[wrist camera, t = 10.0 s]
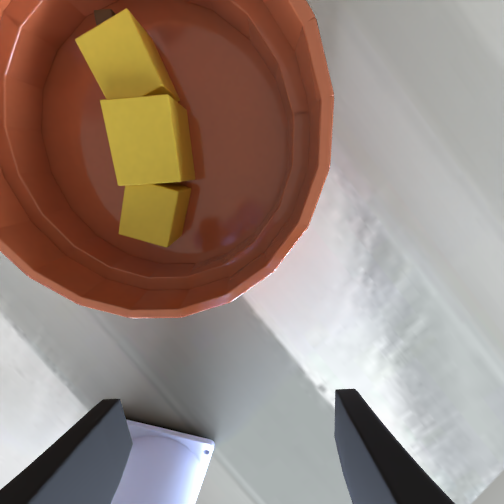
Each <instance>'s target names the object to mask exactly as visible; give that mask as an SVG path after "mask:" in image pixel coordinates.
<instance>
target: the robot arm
mask: <svg viewBox="0 0 504 504" xmlns="http://www.w3.org/2000/svg"><path fill="white" fill-rule="evenodd" d="M335 441H336V445H337V450H338V454H339V458H340V463H341V467H342V471H343V475H344V478H345V481H346V484H347V487H348V491H349V494H350V497H351V500H352V503H353V504H455V503H454V502H453V501H452V500H451V499H450V498H449V497H448V496H447V495H446V494H445V493H444V492H443V491H442V490H441V489H440V487H439V486H438V485H437V484H436V483H435V482H434V481H433V480H432V479H431V478H430V477H429V476H428V475H427V474H426V472H425V471H424V470H423V469H422V468H421V467H420V466H419V465H418V464H417V463H416V461H415V460H414V459H413V458H412V457H411V456H410V455H409V453H408V452H407V451H406V450H405V449H404V448H403V447H402V445H401V444H400V443H399V442H398V441H397V440H396V439H395V437H394V436H393V435H392V434H391V433H390V431H389V430H388V429H387V428H386V427H385V425H384V424H383V423H382V422H381V421H380V419H379V418H378V417H377V416H376V414H375V413H374V412H373V411H372V409H371V408H370V407H369V406H368V404H367V403H366V402H365V400H364V399H363V398H362V397H361V395H360V394H359V393H358V391H356V390H355V389H339V390H336V391H335ZM213 449H214V442H213V441H212V440H211V439H207V438H203V437H198V436H194V435H190V434H186V433H181V432H177V431H173V430H169V429H165V428H160V427H156V426H152V425H148V424H144V423H139V422H135V421H131V420H127V419H126V418H125V414H124V411H123V407H122V404H121V400H120V399H106V400H102V401H101V402H99V403H98V404H97V405H96V406H95V407H94V408H92V409H91V410H90V411H89V412H88V413H87V414H86V415H85V416H84V417H82V418H81V419H80V420H79V421H78V422H77V423H76V424H75V425H74V426H72V427H71V428H70V429H69V430H68V431H67V432H66V433H65V434H64V435H63V436H61V437H60V438H59V439H58V440H57V441H56V442H55V443H54V444H53V445H51V446H50V447H49V448H48V449H47V450H46V451H45V452H44V453H42V454H41V455H40V456H39V457H38V458H37V459H36V460H35V461H34V462H32V463H31V464H30V465H29V466H28V467H27V468H26V469H24V470H23V471H22V472H21V473H20V474H19V475H17V476H16V477H15V478H14V479H13V480H12V481H10V482H9V483H8V484H7V485H6V486H4V487H3V488H2V489H1V490H0V504H195V502H196V499H197V496H198V493H199V490H200V487H201V484H202V482H203V479H204V476H205V473H206V470H207V467H208V464H209V461H210V458H211V455H212V452H213Z"/></svg>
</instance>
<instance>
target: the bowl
mask: <svg viewBox="0 0 504 504" xmlns="http://www.w3.org/2000/svg"><path fill="white" fill-rule="evenodd" d="M125 8H127V9H128V10H129V11H130V12H131V14H132V15H133V16H134V17H135V19H136V20H137V21H138V22H139V24H140V25H141V26H142V27H143V29H144V30H145V31H146V32H147V34H148V35H149V36H150V37H151V38H152V40H153V42H154V44H155V47H156V49H157V51H158V53H159V55H160V57H161V60H162V62H163V64H164V66H165V68H166V70H167V73H168V75H169V77H170V79H171V81H172V83H173V86H174V88H175V90H176V92H177V94H178V96H179V99H180V100H179V101H178V103H179V104H180V105H181V106H183V107H184V108H185V109H186V110H187V116H188V124H189V132H190V140H191V147H192V155H193V163H194V171H195V180H190V181H183V182H173V183H176V184H179V185H183V186H186V187H189V188H191V194H190V199H189V203H188V208H187V213H186V217H185V222H184V226H183V231H182V236H181V237H179V238H178V239H177V240H176V241H175V242H173V243H172V244H171V245H170V246H169V247H167V248H166V247H163V246H159V245H155V244H152V243H148V242H145V241H141V240H138V239H134V238H131V237H127V236H123V235H120V234H119V226H120V219H121V211H122V204H123V197H124V190H125V186H118V183H117V179H116V174H115V169H114V164H113V160H112V155H111V150H110V146H109V141H108V136H107V132H106V127H105V122H104V117H103V113H102V108H101V103H100V100H102V99H106V97H105V96H104V94H103V92H102V90H101V88H100V86H99V84H98V82H97V81H96V79H95V77H94V75H93V73H92V71H91V69H90V67H89V66H88V64H87V62H86V60H85V58H84V56H83V54H82V52H81V51H80V49H79V47H78V45H77V43H76V41H75V39H76V38H77V37H79V36H81V35H82V34H84V33H86V32H87V31H89V30H91V29H92V28H94V27H96V21H95V16H94V10H101V9H112V10H113V11H114V13H115V14H117V13H119V12H121V11H122V10H124V9H125ZM333 95H334V92H333V88H332V84H331V79H330V75H329V71H328V67H327V62H326V58H325V54H324V50H323V45H322V41H321V37H320V33H319V28H318V24H317V20H316V18H315V15H314V13H313V11H312V9H311V8H310V6H309V4H308V3H307V1H306V0H0V251H1V252H2V253H3V254H4V255H5V256H6V257H7V258H8V259H9V260H10V261H11V262H13V263H14V264H15V265H16V266H17V267H18V268H19V269H20V270H21V271H22V272H23V273H25V274H26V275H27V276H29V278H31V279H33V280H35V281H37V282H38V283H40V284H42V285H44V286H46V287H47V288H49V289H51V290H53V291H55V292H56V293H58V294H60V295H62V296H64V297H65V298H67V299H69V300H71V301H73V302H74V303H76V304H79V305H81V306H85V307H89V308H93V309H97V310H101V311H104V312H108V313H112V314H116V315H120V316H123V317H127V318H181V317H185V316H189V315H192V314H195V313H198V312H201V311H204V310H208V309H211V308H214V307H217V306H220V305H224V304H227V303H230V302H232V301H233V300H235V299H236V298H237V297H239V296H240V295H242V294H243V293H245V292H246V291H248V290H249V289H250V288H252V287H253V286H255V285H256V284H258V283H259V282H260V281H262V280H263V279H265V278H266V277H268V276H269V275H270V274H272V273H273V272H274V271H275V270H276V269H277V267H278V266H279V265H280V263H281V262H282V261H283V260H284V258H285V257H286V256H287V254H288V253H289V252H290V250H291V249H292V248H293V246H294V245H295V244H296V243H297V241H298V240H299V239H300V237H301V236H302V235H303V233H304V232H305V231H306V229H307V228H308V226H309V224H310V221H311V219H312V216H313V213H314V210H315V208H316V205H317V202H318V199H319V197H320V194H321V191H322V188H323V186H324V183H325V180H326V177H327V175H328V172H329V169H330V162H331V145H332V127H333V109H334V96H333Z"/></svg>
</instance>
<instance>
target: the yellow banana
mask: <svg viewBox="0 0 504 504" xmlns="http://www.w3.org/2000/svg"><path fill="white" fill-rule="evenodd" d="M94 16H95V21H96V27H94V28H92V29H91V30H89V31H87V32H86V33H84V34H82V35H81V36H79V37H77V38H76V39H75V41H76V43H77V45H78V47H79V49H80V51H81V52H82V54H83V56H84V58H85V60H86V62H87V64H88V66H89V67H90V69H91V71H92V73H93V75H94V77H95V79H96V81H97V82H98V84H99V86H100V88H101V90H102V92H103V94H104V96H105V97H106V99H102V100H100V103H101V108H102V113H103V117H104V122H105V127H106V132H107V136H108V141H109V146H110V150H111V155H112V160H113V164H114V169H115V174H116V179H117V183H118V186H125V190H124V197H123V204H122V211H121V219H120V226H119V234H120V235H123V236H127V237H131V238H134V239H138V240H141V241H145V242H148V243H152V244H155V245H159V246H163V247H166V248H167V247H169V246H170V245H171V244H172V243H173V242H175V241H176V240H177V239H178V238H179V237H181V236H182V231H183V226H184V222H185V217H186V213H187V208H188V203H189V199H190V194H191V188H189V187H186V186H183V185H179V184H176V183H173V182H183V181H190V180H195V171H194V163H193V155H192V147H191V140H190V132H189V124H188V116H187V110H186V109H185V108H184V107H183V106H181V105H180V104H179V103H178V101H179V100H180V99H179V96H178V94H177V92H176V90H175V88H174V86H173V83H172V81H171V79H170V77H169V75H168V73H167V70H166V68H165V66H164V64H163V62H162V60H161V57H160V55H159V53H158V51H157V49H156V47H155V44H154V42H153V40H152V38H151V37H150V36H149V35H148V34H147V32H146V31H145V30H144V29H143V27H142V26H141V25H140V24H139V22H138V21H137V20H136V19H135V17H134V16H133V15H132V14H131V12H130V11H129V10H128V9H127V8H125V9H124V10H122V11H121V12H119V13H117V14H115V13H114V11H113V10H112V9H101V10H94Z"/></svg>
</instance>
